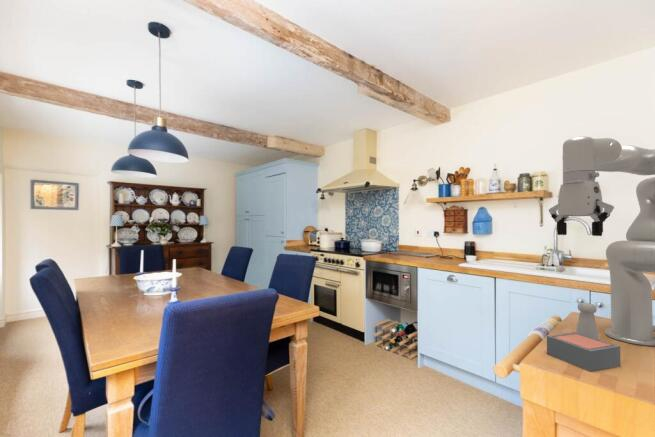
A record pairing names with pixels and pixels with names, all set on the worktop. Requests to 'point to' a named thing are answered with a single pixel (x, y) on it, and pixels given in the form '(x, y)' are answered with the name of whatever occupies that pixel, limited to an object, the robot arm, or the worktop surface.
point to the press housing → (584, 353)
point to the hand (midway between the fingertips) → (578, 235)
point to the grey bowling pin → (587, 321)
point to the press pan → (583, 341)
